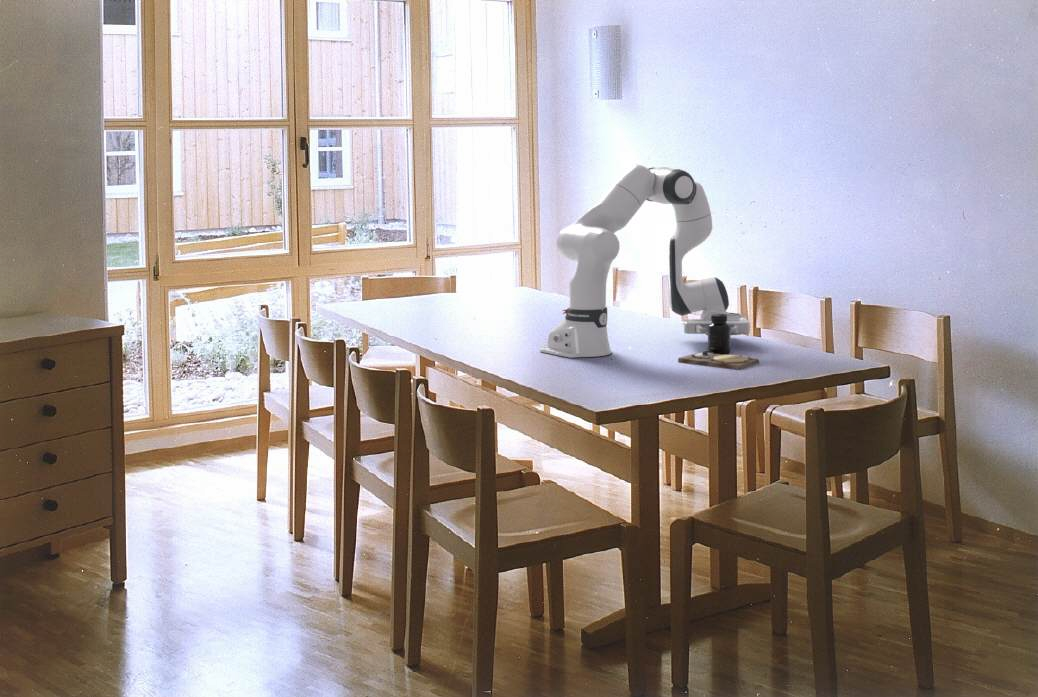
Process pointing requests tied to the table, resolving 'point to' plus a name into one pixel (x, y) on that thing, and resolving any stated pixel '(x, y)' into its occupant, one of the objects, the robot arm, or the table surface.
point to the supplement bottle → (719, 335)
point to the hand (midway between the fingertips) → (718, 330)
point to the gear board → (719, 360)
